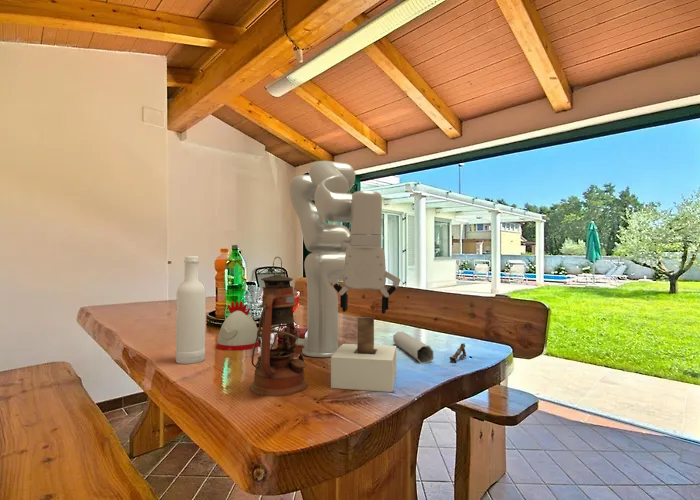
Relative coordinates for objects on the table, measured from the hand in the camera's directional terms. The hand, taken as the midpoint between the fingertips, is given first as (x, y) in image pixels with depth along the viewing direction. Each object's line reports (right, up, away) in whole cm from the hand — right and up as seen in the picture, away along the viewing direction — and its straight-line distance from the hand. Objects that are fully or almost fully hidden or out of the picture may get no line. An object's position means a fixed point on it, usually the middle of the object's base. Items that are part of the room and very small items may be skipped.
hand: (364, 311), depth 95 cm
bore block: (0, -17, -1) cm, 16 cm away
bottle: (-49, -17, +16) cm, 55 cm away
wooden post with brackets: (+28, -17, +18) cm, 37 cm away
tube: (+15, -18, +27) cm, 35 cm away
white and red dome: (-41, -17, +35) cm, 56 cm away
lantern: (-20, -17, -5) cm, 26 cm away
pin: (0, -13, -1) cm, 13 cm away
